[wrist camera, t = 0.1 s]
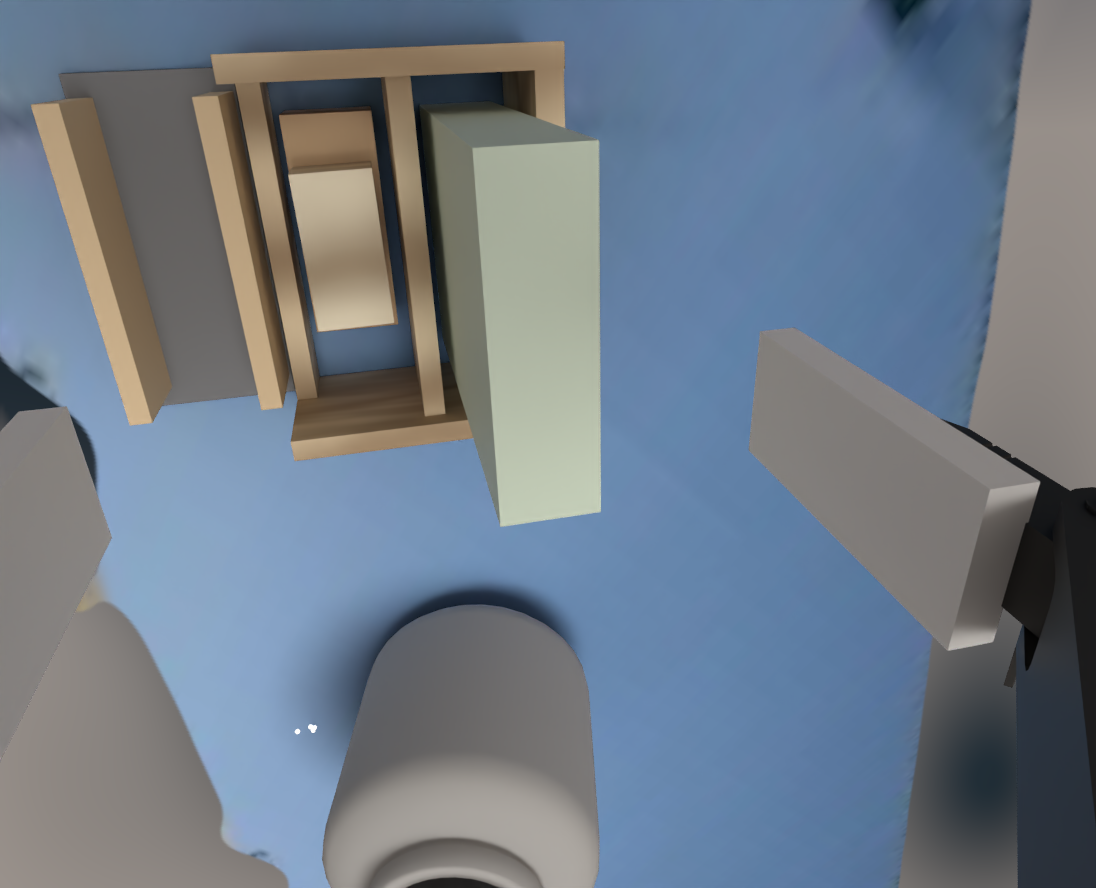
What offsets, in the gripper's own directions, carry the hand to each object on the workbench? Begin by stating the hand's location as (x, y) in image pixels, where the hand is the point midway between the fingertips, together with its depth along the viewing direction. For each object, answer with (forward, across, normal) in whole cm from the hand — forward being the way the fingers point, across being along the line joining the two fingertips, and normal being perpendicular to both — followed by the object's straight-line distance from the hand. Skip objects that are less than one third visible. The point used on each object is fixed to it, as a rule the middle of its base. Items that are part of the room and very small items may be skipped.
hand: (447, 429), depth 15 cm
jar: (+28, 0, -32) cm, 43 cm away
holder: (+28, -10, -2) cm, 30 cm away
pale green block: (+28, +4, -2) cm, 28 cm away
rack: (+28, +1, -2) cm, 28 cm away
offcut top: (+25, -2, -1) cm, 25 cm away
